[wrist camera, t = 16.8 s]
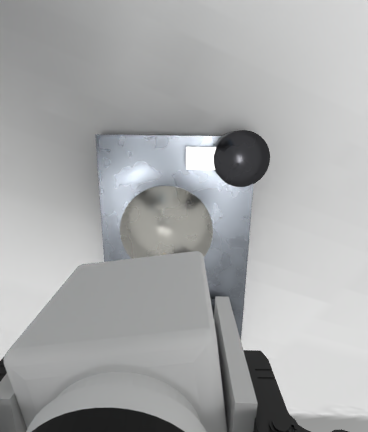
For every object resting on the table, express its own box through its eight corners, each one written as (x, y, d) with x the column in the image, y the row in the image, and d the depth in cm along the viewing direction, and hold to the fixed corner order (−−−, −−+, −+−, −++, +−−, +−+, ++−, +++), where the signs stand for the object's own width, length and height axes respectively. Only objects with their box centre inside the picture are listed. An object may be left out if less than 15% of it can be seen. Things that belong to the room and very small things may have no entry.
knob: (262, 131, 27) (272, 130, 24) (258, 182, 29) (267, 187, 26) (186, 130, 27) (186, 129, 24) (185, 181, 29) (185, 186, 26)
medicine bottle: (77, 262, 16) (-214, 600, 4) (202, 248, 16) (254, 563, 4) (102, 365, 18) (-51, 792, 6) (214, 353, 17) (274, 775, 6)
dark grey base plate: (101, 134, 30) (94, 134, 27) (252, 136, 29) (257, 136, 27) (114, 341, 37) (110, 354, 34) (236, 343, 36) (240, 356, 34)
